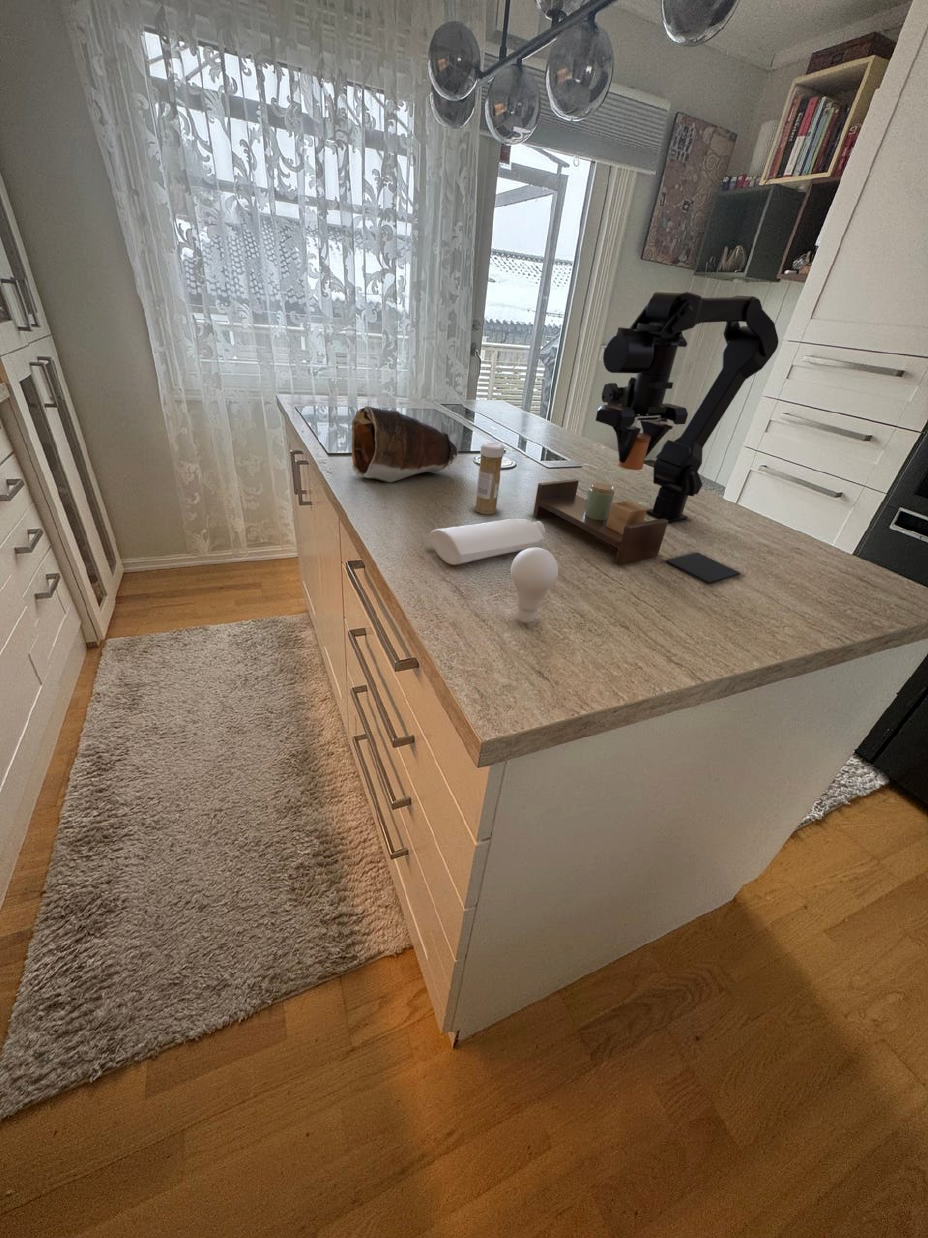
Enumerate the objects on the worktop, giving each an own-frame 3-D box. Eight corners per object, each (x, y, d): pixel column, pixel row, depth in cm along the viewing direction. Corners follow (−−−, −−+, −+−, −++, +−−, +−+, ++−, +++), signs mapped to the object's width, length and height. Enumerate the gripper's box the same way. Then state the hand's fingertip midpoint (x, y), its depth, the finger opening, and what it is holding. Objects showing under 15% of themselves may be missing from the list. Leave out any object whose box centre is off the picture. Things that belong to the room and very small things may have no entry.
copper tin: (629, 461, 104) (637, 431, 101) (648, 469, 101) (656, 437, 97) (611, 463, 102) (618, 432, 99) (630, 471, 98) (638, 438, 95)
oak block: (622, 523, 96) (628, 500, 94) (640, 532, 93) (647, 508, 91) (605, 526, 94) (611, 503, 92) (623, 535, 91) (630, 511, 89)
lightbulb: (500, 610, 73) (510, 538, 68) (542, 611, 74) (556, 540, 68) (507, 634, 68) (518, 558, 63) (551, 635, 69) (567, 561, 63)
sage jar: (596, 510, 101) (602, 481, 98) (613, 518, 98) (620, 488, 95) (578, 513, 99) (585, 483, 96) (595, 521, 96) (603, 491, 93)
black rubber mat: (696, 554, 97) (697, 552, 97) (739, 574, 91) (740, 572, 91) (665, 562, 93) (666, 560, 93) (708, 584, 87) (709, 582, 86)
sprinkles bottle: (500, 513, 106) (509, 447, 99) (482, 516, 104) (490, 448, 97) (487, 506, 110) (495, 441, 102) (470, 508, 107) (476, 442, 100)
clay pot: (478, 427, 120) (379, 406, 106) (466, 493, 125) (370, 482, 111) (445, 421, 131) (352, 402, 117) (436, 482, 136) (345, 471, 122)
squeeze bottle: (429, 549, 89) (430, 521, 86) (520, 533, 98) (524, 507, 96) (458, 573, 82) (461, 544, 79) (553, 553, 92) (558, 526, 89)
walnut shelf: (568, 510, 112) (575, 478, 108) (657, 556, 95) (668, 520, 91) (532, 516, 107) (538, 483, 103) (619, 565, 90) (630, 528, 86)
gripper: (654, 367, 102) (634, 447, 111) (584, 366, 94) (568, 453, 102) (701, 376, 95) (675, 462, 103) (629, 376, 86) (607, 469, 94)
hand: (631, 461), depth 101 cm, fingers closed on copper tin, 5 cm apart
